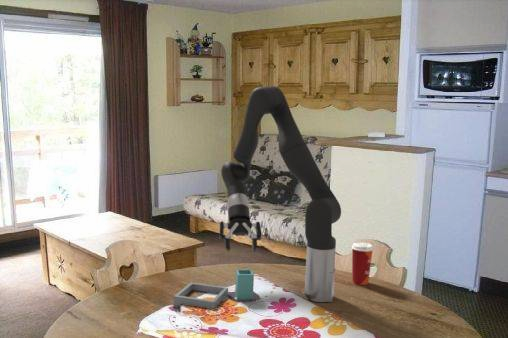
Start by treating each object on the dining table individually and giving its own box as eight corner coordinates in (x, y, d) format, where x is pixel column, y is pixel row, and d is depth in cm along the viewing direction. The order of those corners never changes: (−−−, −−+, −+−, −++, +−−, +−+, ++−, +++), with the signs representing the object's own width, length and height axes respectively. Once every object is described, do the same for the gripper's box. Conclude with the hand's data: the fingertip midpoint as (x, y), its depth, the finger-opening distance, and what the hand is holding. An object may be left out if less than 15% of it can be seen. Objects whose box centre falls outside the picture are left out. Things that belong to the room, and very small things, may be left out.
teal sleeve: (250, 293, 163) (251, 269, 162) (252, 299, 159) (253, 274, 158) (235, 293, 163) (236, 269, 162) (237, 299, 158) (237, 274, 157)
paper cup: (373, 286, 178) (375, 248, 176) (351, 285, 178) (353, 247, 177) (368, 279, 186) (371, 242, 184) (347, 278, 186) (350, 241, 184)
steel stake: (256, 294, 166) (257, 275, 166) (262, 306, 157) (262, 286, 156) (226, 295, 165) (227, 276, 164) (229, 307, 155) (230, 287, 154)
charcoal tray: (227, 298, 163) (228, 287, 162) (213, 313, 150) (214, 302, 150) (190, 292, 166) (190, 282, 166) (173, 307, 154) (173, 296, 153)
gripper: (219, 203, 174) (221, 244, 164) (260, 203, 176) (264, 244, 166) (217, 215, 180) (219, 255, 170) (257, 215, 182) (261, 255, 172)
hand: (241, 250), depth 168 cm, fingers open, 8 cm apart
